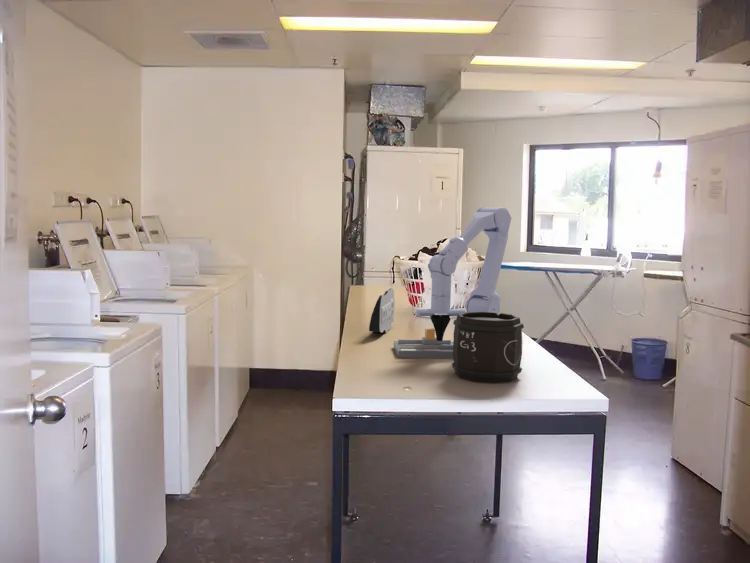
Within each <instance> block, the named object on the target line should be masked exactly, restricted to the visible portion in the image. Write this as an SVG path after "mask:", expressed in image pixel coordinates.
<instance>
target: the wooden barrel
mask: <svg viewBox="0 0 750 563" xmlns="http://www.w3.org/2000/svg"><path fill="white" fill-rule="evenodd" d="M452 324H453V325H454V329H453V341H452V342H453V358H452V360H453V362H452V363H451V367H452V368H453V370H454V373H455V375H456V376H457V377H458V378H459V379H462V380H466V381H470V382H472V383H473V382H474V383H485V384H503V383H512V382H513V381H514V380H517V379H518V376H519V374H520V373H522V371H523V368H522V367H521V363H522V355H523V329H524V328H525V327H524V323H522V322H521V318H520V317H518V316H517V315H515V314H510V313H506V312H505V313H504V312H499V315H498V314H497V313H496V312H467V311H465V313H461V314H458V315H457V316H456V319H454V320H453V323H452Z"/></svg>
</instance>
